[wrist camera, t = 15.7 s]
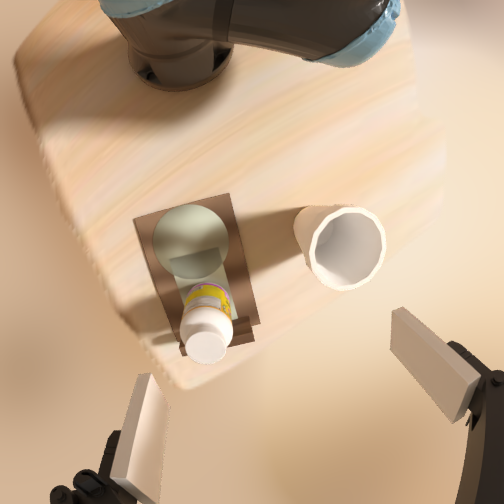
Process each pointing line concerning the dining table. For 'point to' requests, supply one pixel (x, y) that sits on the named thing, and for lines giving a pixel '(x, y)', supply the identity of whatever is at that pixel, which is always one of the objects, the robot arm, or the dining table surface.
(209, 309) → the supplement bottle
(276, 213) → the dining table surface
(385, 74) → the dining table surface
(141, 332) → the dining table surface
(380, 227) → the foam cup
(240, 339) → the keyhole board
